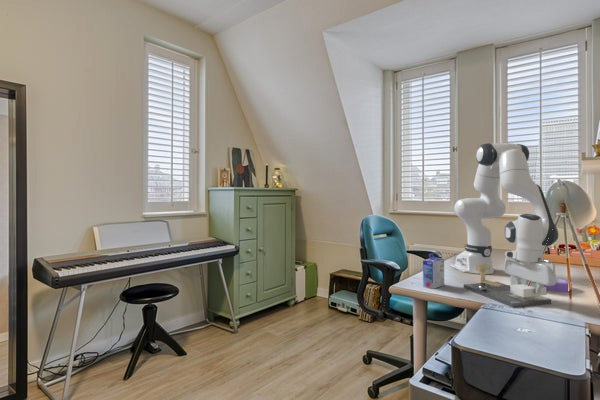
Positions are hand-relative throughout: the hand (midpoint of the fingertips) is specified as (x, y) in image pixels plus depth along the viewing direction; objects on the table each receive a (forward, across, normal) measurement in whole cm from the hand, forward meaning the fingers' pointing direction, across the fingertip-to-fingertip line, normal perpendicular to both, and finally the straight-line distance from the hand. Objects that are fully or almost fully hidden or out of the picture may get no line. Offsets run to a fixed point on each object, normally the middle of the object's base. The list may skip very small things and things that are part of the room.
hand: (528, 290), depth 136 cm
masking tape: (+4, +11, -26) cm, 29 cm away
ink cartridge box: (+4, +27, +24) cm, 36 cm away
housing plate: (+4, +8, +4) cm, 9 cm away
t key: (+1, +9, +10) cm, 13 cm away
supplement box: (+4, +15, -14) cm, 21 cm away
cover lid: (+1, 0, 0) cm, 1 cm away
